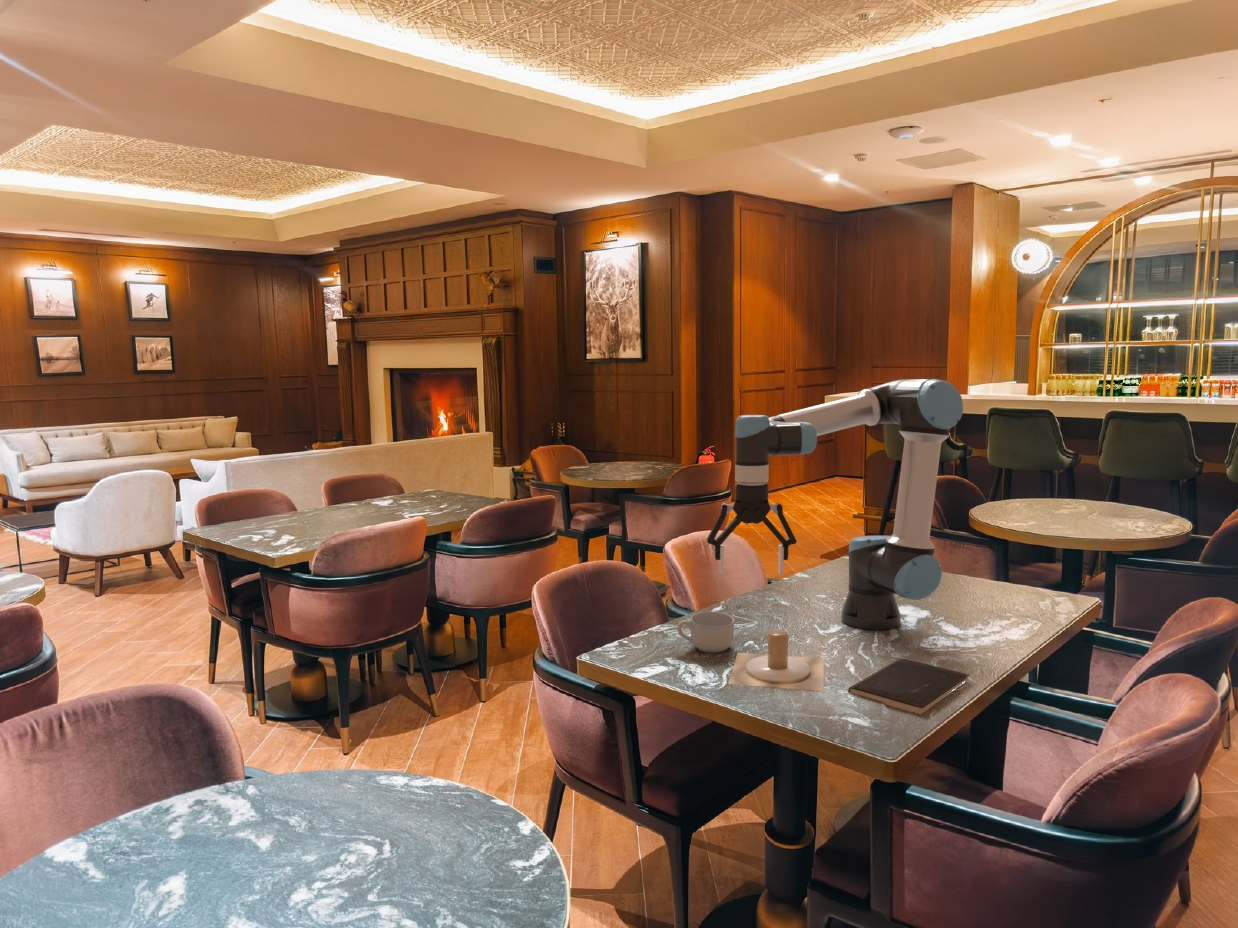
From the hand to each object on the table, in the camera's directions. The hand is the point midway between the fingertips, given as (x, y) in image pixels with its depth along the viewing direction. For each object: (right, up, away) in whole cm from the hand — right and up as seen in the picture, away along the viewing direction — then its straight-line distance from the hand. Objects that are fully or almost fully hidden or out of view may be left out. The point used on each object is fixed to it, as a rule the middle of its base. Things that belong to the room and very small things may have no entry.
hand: (751, 573), depth 190 cm
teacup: (-9, -20, +11) cm, 25 cm away
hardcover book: (+31, -23, -15) cm, 42 cm away
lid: (+5, -21, -5) cm, 22 cm away
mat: (+5, -21, -5) cm, 23 cm away
